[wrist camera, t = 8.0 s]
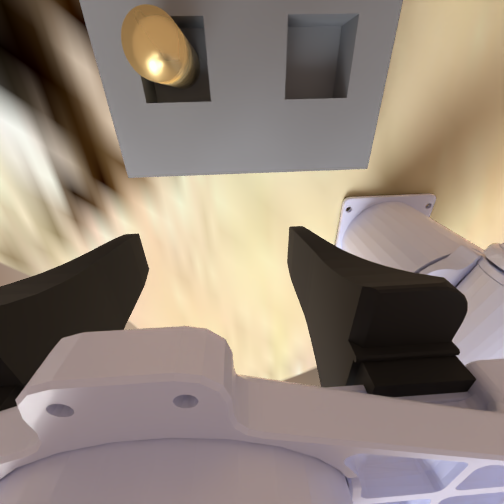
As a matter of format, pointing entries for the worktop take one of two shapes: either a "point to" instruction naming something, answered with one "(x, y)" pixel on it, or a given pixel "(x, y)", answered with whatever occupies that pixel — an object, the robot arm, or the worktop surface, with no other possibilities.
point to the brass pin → (158, 47)
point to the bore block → (251, 85)
